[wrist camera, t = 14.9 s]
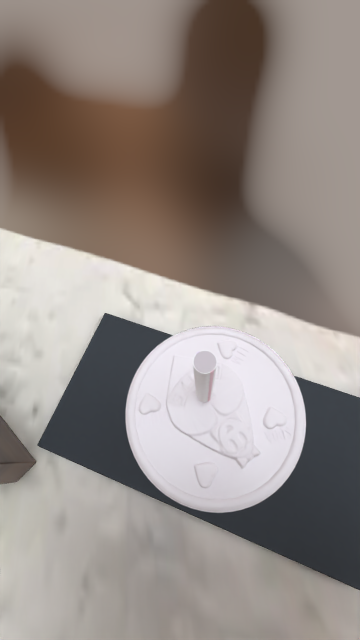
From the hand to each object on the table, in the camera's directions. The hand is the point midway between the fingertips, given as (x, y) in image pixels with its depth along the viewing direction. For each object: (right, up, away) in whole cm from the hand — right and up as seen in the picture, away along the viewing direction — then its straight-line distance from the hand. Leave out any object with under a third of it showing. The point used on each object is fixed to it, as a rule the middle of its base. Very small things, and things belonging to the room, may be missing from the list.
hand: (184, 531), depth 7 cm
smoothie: (+2, -2, +12) cm, 13 cm away
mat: (+2, -2, +13) cm, 13 cm away
